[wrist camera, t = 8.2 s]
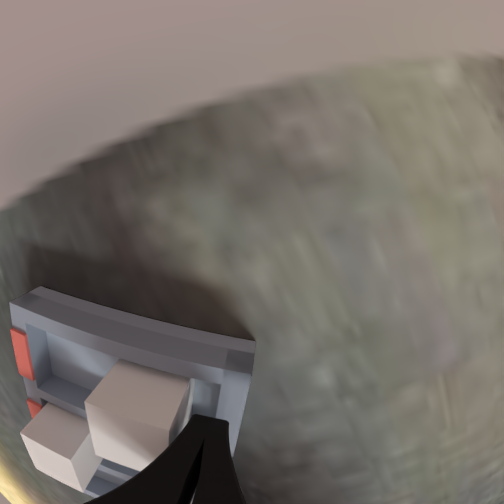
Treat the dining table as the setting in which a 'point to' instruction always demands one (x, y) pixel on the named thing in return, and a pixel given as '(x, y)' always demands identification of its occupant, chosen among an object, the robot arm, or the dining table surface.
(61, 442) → the tab mid
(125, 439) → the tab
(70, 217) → the dining table surface
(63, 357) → the switch bank
